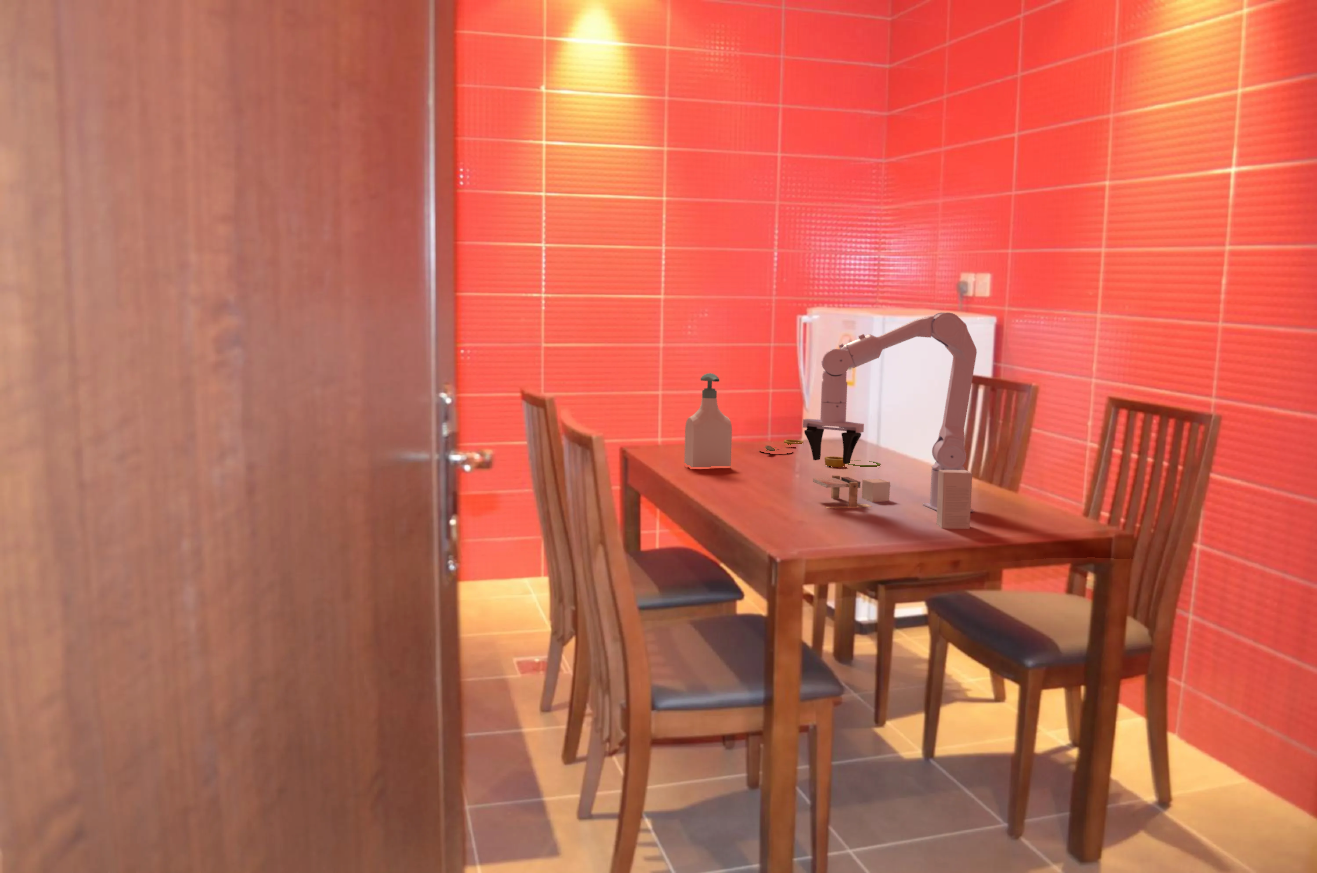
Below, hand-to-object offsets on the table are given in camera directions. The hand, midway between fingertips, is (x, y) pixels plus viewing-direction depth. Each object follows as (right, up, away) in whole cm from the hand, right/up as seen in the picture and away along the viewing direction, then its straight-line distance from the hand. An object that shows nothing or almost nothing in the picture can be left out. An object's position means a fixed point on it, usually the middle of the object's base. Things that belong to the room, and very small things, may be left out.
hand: (831, 461), depth 241 cm
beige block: (+11, -10, +6) cm, 16 cm away
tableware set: (+5, -4, +66) cm, 66 cm away
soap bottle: (-26, -5, +43) cm, 51 cm away
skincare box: (+22, -14, -20) cm, 33 cm away
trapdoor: (+1, -6, +1) cm, 6 cm away
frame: (+3, -10, +2) cm, 11 cm away
